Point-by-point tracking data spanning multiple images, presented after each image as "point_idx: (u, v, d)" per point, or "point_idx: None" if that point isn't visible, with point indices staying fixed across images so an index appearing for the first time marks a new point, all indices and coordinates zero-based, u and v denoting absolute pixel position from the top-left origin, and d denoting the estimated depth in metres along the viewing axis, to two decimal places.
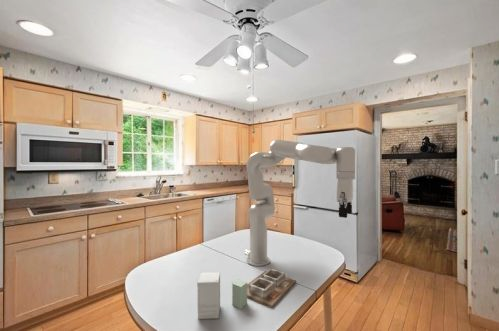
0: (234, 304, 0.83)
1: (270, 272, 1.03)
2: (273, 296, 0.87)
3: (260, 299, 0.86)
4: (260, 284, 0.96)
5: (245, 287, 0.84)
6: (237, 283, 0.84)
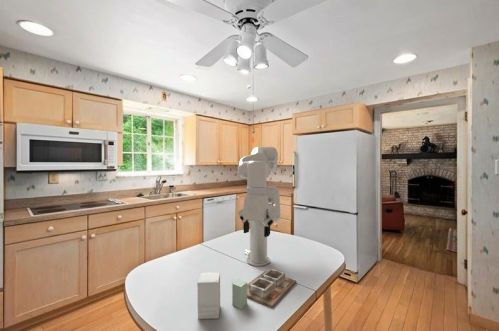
0: (234, 304, 0.83)
1: (270, 272, 1.03)
2: (273, 296, 0.87)
3: (260, 299, 0.86)
4: (260, 284, 0.96)
5: (245, 287, 0.84)
6: (237, 283, 0.84)
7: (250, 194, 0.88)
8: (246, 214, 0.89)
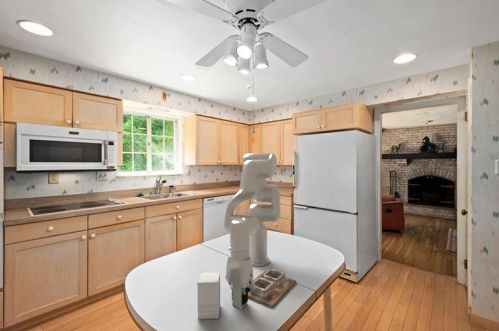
0: (234, 304, 0.84)
1: (270, 272, 1.03)
2: (273, 296, 0.87)
3: (260, 299, 0.86)
4: (260, 284, 0.96)
5: None
6: None
7: (232, 258, 0.82)
8: (229, 277, 0.84)
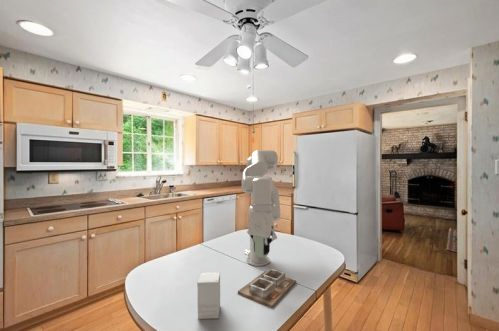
0: (257, 254, 0.91)
1: (270, 272, 1.03)
2: (273, 296, 0.87)
3: (260, 299, 0.86)
4: (260, 284, 0.96)
5: None
6: None
7: (255, 211, 0.89)
8: (251, 230, 0.91)
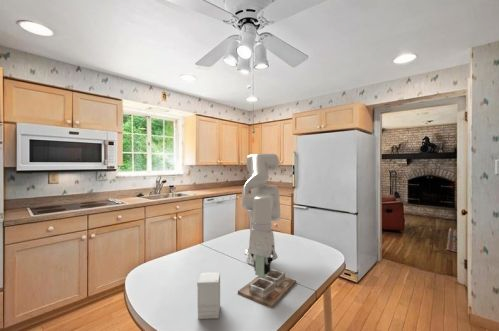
0: (257, 273, 0.90)
1: (270, 272, 1.03)
2: (273, 296, 0.87)
3: (260, 299, 0.86)
4: (260, 284, 0.96)
5: None
6: None
7: (256, 230, 0.89)
8: (252, 249, 0.91)
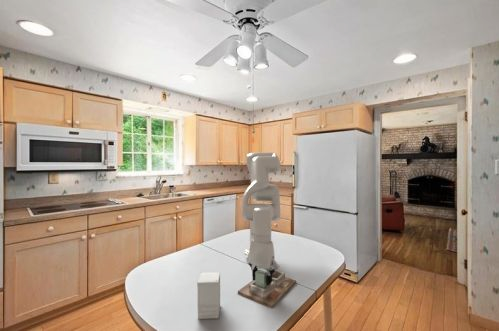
0: None
1: None
2: (273, 296, 0.87)
3: (260, 299, 0.86)
4: None
5: None
6: (259, 271, 0.92)
7: (256, 242, 0.89)
8: (252, 260, 0.91)
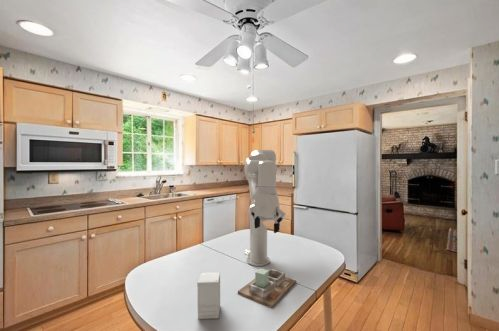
0: None
1: (270, 272, 1.03)
2: (273, 296, 0.87)
3: (260, 299, 0.86)
4: None
5: (267, 275, 0.92)
6: (259, 271, 0.92)
7: (261, 193, 0.93)
8: (257, 211, 0.95)
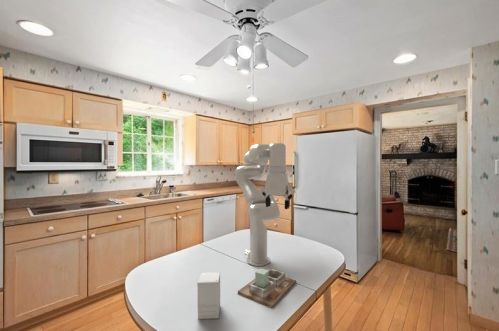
0: None
1: (270, 272, 1.03)
2: (273, 296, 0.87)
3: (260, 299, 0.86)
4: None
5: (267, 275, 0.92)
6: (259, 271, 0.92)
7: (272, 172, 1.00)
8: (268, 190, 1.02)
